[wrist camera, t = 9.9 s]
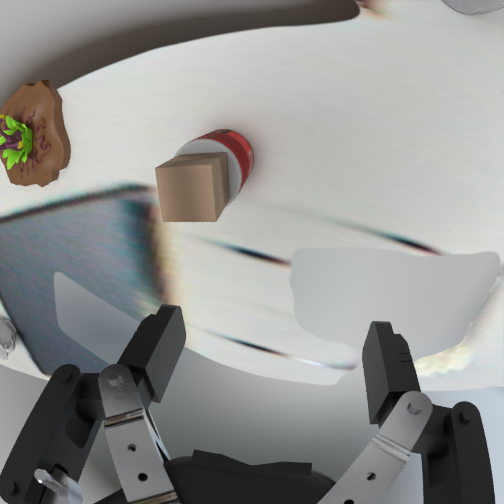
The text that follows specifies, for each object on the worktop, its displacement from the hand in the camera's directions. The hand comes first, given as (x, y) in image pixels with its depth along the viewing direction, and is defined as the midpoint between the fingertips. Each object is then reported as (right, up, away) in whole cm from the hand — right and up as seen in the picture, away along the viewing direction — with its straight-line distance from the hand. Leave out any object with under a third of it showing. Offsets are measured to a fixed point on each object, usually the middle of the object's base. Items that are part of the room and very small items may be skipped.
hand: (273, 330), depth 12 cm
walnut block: (-6, +11, +18) cm, 22 cm away
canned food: (-4, +16, +28) cm, 32 cm away
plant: (-41, +25, +29) cm, 56 cm away
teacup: (-77, -21, +59) cm, 99 cm away
